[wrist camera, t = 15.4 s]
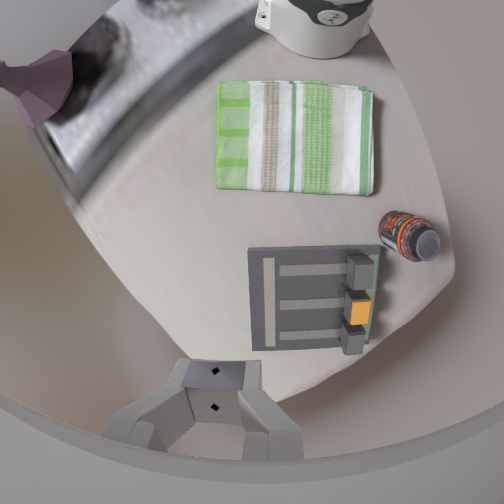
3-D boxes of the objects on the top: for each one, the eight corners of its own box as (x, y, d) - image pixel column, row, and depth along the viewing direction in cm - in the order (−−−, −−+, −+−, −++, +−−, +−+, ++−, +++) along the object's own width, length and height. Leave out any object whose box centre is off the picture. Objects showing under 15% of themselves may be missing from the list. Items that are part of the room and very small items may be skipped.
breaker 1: (347, 255, 39) (355, 263, 35) (366, 255, 38) (375, 262, 35) (345, 281, 40) (353, 291, 36) (364, 280, 40) (373, 290, 36)
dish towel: (368, 197, 39) (377, 198, 36) (217, 192, 40) (212, 193, 37) (367, 91, 35) (375, 84, 31) (218, 83, 36) (214, 75, 33)
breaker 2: (342, 322, 41) (348, 335, 38) (359, 320, 41) (366, 333, 37) (339, 343, 42) (345, 356, 39) (356, 341, 42) (363, 354, 38)
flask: (70, 41, 33) (8, 10, 13) (100, 80, 35) (25, 47, 16) (23, 101, 36) (-43, 91, 17) (47, 147, 39) (-32, 146, 19)
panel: (248, 247, 42) (247, 251, 39) (376, 244, 40) (381, 247, 38) (253, 344, 46) (252, 351, 44) (365, 337, 45) (369, 344, 42)
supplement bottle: (391, 202, 39) (429, 211, 28) (414, 225, 39) (454, 240, 28) (369, 232, 40) (402, 250, 29) (394, 254, 41) (429, 277, 30)
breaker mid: (345, 290, 40) (352, 301, 36) (363, 289, 40) (372, 300, 36) (343, 314, 41) (349, 326, 37) (360, 312, 41) (368, 324, 37)
